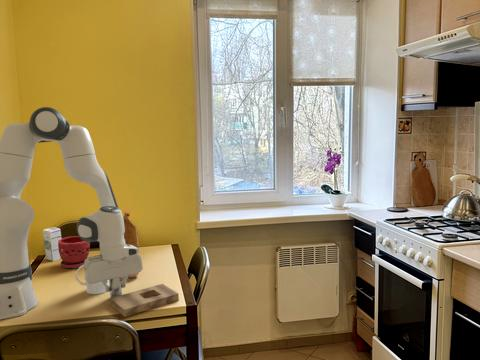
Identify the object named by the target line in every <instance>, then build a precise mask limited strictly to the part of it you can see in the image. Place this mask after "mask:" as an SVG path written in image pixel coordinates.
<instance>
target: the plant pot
mask: <svg viewBox="0 0 480 360" xmlns="http://www.w3.org/2000/svg"><path fill="white" fill-rule="evenodd" d="M90 247H91V242H85V241H83V240H82V239H81V238H80V237H79V235H77V236H75V235H74V236H67V237H63V238H62V237H61V239H60V240H59V241H58V248H59V254H60V257H61V259H60V260H62V261H60V265H61V267H63V268H65V269H78V268H79V267H80V266H82V265H84V261H85V260H86V259H87V258H88V257H89V254H90V249H91V248H90Z"/></svg>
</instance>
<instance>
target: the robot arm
mask: <svg viewBox="0 0 480 360" xmlns="http://www.w3.org/2000/svg"><path fill="white" fill-rule="evenodd" d="M62 114H63V113H61V112H60V111H58V109H55V108H53V107H50V106H49V107H48V106H42V107H39V108H37V109H36V110H34V111H33V112H32V113H31V115H30V116H29V117H30V118H29V121H28V122H25V123H21V122H12V123H10V124H7V125H6V126H5V127H4V129H3V130H2V131H3V132H2V134H1V136H0V320H4V319H9V318H15V317H20V316H23V315H25V314H26V313H27V312H28V311H29V310H31V309H33V308H35V307H36V306H37V305H38V303H39V300H38V298H37V296H36V293H35V290H34V286H33V282H32V279H33V272H32V266H31V264H30V261H29V249H28V238H29V237H28V236H29V232H30V226H32V223H33V222H34V219H35V212H34V208H33V207H32V205H31V204H29V203H28V202H27V201H25V200H24V199H22V198H21V195H22V193H23V190H24V189H25V187H26V185H27V184H28V183H29V181H30V178H31V174H32V168H33V163H34V158H35V157H34V155H35V152H36V151H35V150H36V146H37V145H38V144H39V143H50V142H55V143H57V144H58V145H59V148H60V149H61V150H60V151H61V154H62V160H63V161H62V162H63V165H64V170H65V171H66V174H67V175H68V176H69V177H70V178H71V179H73V180H74V181H77V182H80V183H84V184H87V185H89V186H90V187H92V188H93V189H94V190H95V192H96V195H97V199H98V200H99V204H100V207H99V209H97V211H95V212H93V213H91V214H88V215H85V216H82V217H80V219H78V221H77V224H76V233H77V236H79V237H80V238H81V239H82V240H83V241H85V242H90V243H92V242H98V243H99V254H98V255H94V256H88V257H87V258H88V259H86V260H85V261H84V268H83V269H84V281H85V282H87V283H89V284H94V283H98V282H102V283H103V285H104V286H105V290H106V292H105V293H110V291H111V286H109V285H110V284H109V285H107V284H106V283H108V281H107V280H110V279H114V278H117V277H121V278H122V279H121V288H122V289H124V288H126V287H127V286H126V283H127V281H128V280H129V277H128V275H130V274H134V273H138V272H139V273H141V272H142V270H143V269H144V268H143V259H142V257H141V256H142V255H141V254H140V248H139V249H138V248H137V247H135V246H133V245H127V244H125V239H124V232H125V229H124V218H123V217H124V215H123V213H122V210H121V209H120V208H119V206H118V203H117V199H116V197H115V194H114V191H113V188H112V185H111V181H110V179H109V176H108V175H107V172H106V171H105V170H104V169H103V168H102V166H100V164H99V161H98V159H97V156H96V151H95V147H94V143H93V140H92V137H91V135H90V132H89V130H88V129H87V128H86V127H84V126H81V125H71V124H70V123H69V122H68V120H67V119H66V118H65V117H64V116H63V115H62ZM87 260H88V261H87Z"/></svg>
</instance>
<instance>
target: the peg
mask: <svg viewBox="0 0 480 360" xmlns="http://www.w3.org/2000/svg"><path fill="white" fill-rule="evenodd" d="M121 282H122V277H117V278H114V279H110V280H109V285H110V286H111V291H109V295H110V298H113V297H117V296H120V295H123V291H122V289H123V288H121Z"/></svg>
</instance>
